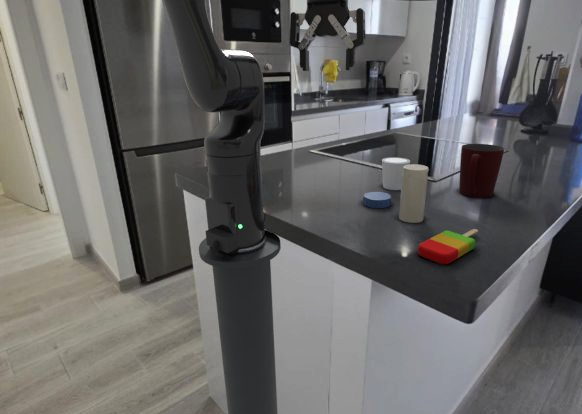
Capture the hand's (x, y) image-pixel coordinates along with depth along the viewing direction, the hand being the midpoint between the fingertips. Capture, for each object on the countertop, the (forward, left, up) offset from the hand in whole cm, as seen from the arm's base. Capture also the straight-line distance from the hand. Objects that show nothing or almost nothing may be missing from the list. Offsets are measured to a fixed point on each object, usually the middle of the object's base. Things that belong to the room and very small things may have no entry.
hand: (326, 70), depth 74 cm
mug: (+27, -24, -28) cm, 46 cm away
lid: (+8, -8, -27) cm, 29 cm away
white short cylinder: (+22, -6, -28) cm, 36 cm away
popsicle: (-4, -29, -28) cm, 41 cm away
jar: (+4, -18, -28) cm, 34 cm away
